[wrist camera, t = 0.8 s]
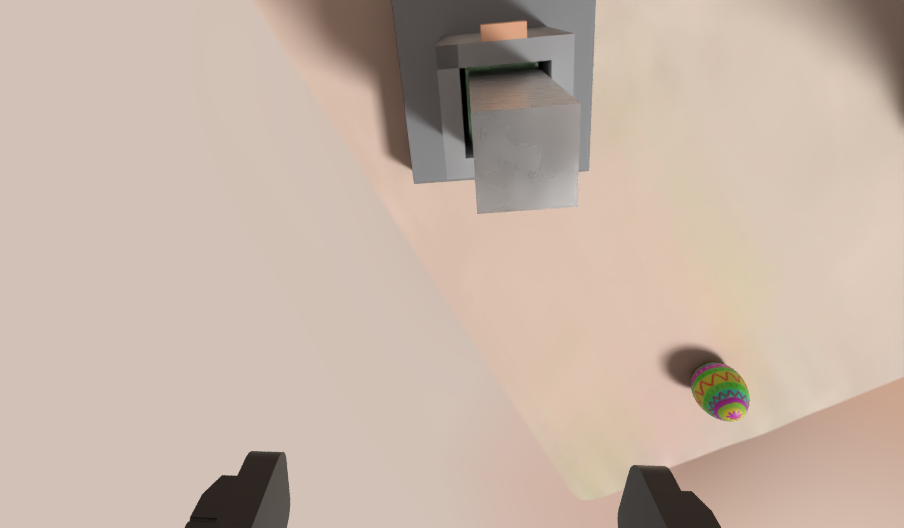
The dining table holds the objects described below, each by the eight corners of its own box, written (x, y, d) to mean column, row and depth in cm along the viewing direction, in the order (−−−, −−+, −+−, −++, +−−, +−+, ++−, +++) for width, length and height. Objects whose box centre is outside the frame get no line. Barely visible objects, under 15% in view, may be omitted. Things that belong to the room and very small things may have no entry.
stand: (395, -11, 37) (363, -19, 26) (587, -30, 36) (644, -46, 25) (417, 172, 44) (399, 233, 32) (581, 160, 43) (624, 218, 31)
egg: (699, 400, 54) (725, 443, 49) (675, 372, 53) (699, 414, 48) (741, 376, 53) (773, 418, 48) (718, 347, 51) (748, 387, 46)
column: (464, 57, 36) (465, 107, 18) (526, 51, 36) (586, 96, 18) (469, 119, 38) (472, 218, 20) (527, 114, 38) (582, 211, 20)
